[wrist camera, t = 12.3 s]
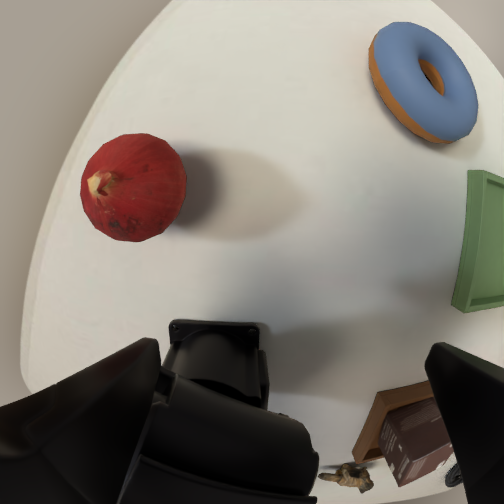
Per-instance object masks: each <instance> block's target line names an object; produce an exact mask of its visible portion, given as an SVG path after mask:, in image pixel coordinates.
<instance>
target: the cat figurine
mask: <svg viewBox="0 0 504 504" xmlns="http://www.w3.org/2000/svg"><path fill="white" fill-rule="evenodd" d="M366 468H367V467H363V468H361V467H351V466H348V464H344V465H343V466H342V468H341V470H337V471H336V473H335V474H330V473H321V474H319V475H318V477H319V478H320V479H322V480H327V481H333V482H337V483H338V484H339V485H340V486H348V487H358V488H359V490H360V492H361V493H364V492H365V491H368V490H370V489H372V488H373V486H374V483H373V481H372V480H370V475H369V473H368V471H367V470H366ZM341 471H342V472H341Z"/></svg>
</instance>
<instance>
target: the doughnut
mask: <svg viewBox="0 0 504 504" xmlns="http://www.w3.org/2000/svg"><path fill="white" fill-rule="evenodd" d="M369 69H370V72H371V75H372V78H373V82H374V85H375V87H376V89H377V90H378V92H379V94H380V96H381V97H382V99H383V101H384V103H385V104H386V106H387V107H388V108H389V109H390V110H391V112H392V113H393V114H394V115H395V117H396V118H397V119H398V120H399V121H400V122H401V123H402V124H403V125H405V126H406V127H407V128H408V129H409V130H410V131H412V132H413V133H414V134H416V135H418V136H420V137H422V138H424V139H426V140H428V141H431V142H435V143H445V144H447V143H452V142H454V141H457V140H459V139H461V138H463V137H465V136H467V135H469V133H470V132H471V130H472V129H473V127H474V125H475V123H476V121H477V113H478V100H477V94H476V90H475V87H474V84H473V82H472V79H471V76H470V74H469V73H468V71H467V69H466V67H465V65H464V64H463V62H462V61H461V59H460V58H459V57H458V55H457V54H456V53H455V52H454V50H453V49H452V48H451V47H450V46H449V45H448V44H447V43H446V42H445V41H444V40H443V39H442V38H441V37H439V36H438V35H436V34H435V33H433V32H432V31H430V30H429V29H427V28H425V27H422V26H419V25H417V24H414V23H411V22H393V23H391V24H389V25H388V26H386V27H384V28H382V29H381V30H379V32H378V33H377V34H376V35H375V37H374V39H373V41H372V43H371V45H370V47H369ZM422 71H423V72H424V73H425V74H426V75H427V77H428V78H429V79H430V81H431V83H432V85H433V86H434V88H433V86H432V85H431V84H430V83H429V81H428V80H427V79H426V77H425V75H424V73H423V72H422Z"/></svg>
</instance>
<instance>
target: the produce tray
mask: <svg viewBox="0 0 504 504" xmlns="http://www.w3.org/2000/svg"><path fill="white" fill-rule="evenodd" d="M451 305H452V306H454V307H455V308H457V309H458V310H460V311H461V312H463V313H469V312H475V311H480V310H486V309H491V308H496V307H501V306H504V178H502V177H500V176H497V175H495V174H492V173H490V172H487V171H484V170H468V191H467V210H466V222H465V232H464V240H463V247H462V254H461V260H460V266H459V271H458V276H457V281H456V286H455V290H454V295H453V299H452V303H451Z"/></svg>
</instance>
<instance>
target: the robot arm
mask: <svg viewBox="0 0 504 504" xmlns="http://www.w3.org/2000/svg"><path fill="white" fill-rule="evenodd" d="M174 325H176V326H177V327H178V328H179V329H175V328H174V327H173V326H174ZM250 329H255V330H256V331H255V332H250V331H249V330H250ZM259 334H260V331H259V327H258V325H256V324H254V323H223V322H202V321H185V320H173V321H171V323H170V325H169V336H170V345H171V346H170V349H169V351H168V353H167V355H166V358H165V360H164V362H163V364H162V366H161V358H160V351H159V344H158V341H157V340H156V339H152V338H146V337H144V338H142V339H140V340H138V341H136V342H134V343H133V344H131V345H129V346H127V347H125V348H123V349H121V350H119V351H118V352H116V353H114V354H112V355H110V356H108V357H106V358H104V359H102V360H100V361H99V362H97V363H95V364H93V365H91V366H89V367H87V368H85V369H83V370H81V371H79V372H77V373H75V374H73V375H71V376H70V377H68V378H66V379H64V380H62V381H60V382H58V383H57V384H54V385H52V386H50V387H48V388H46V389H43V390H41V391H39V392H37V393H35V394H33V395H30V396H28V397H25V398H23V399H20V400H18V401H15V402H13V403H10V404H7V405H4V406H1V407H0V504H316V503H317V497H316V496H309V494H310V492H311V490H312V488H313V486H314V482H315V479H316V476H317V473H318V467H319V455H318V453H317V452H315V451H314V449H313V448H312V444H311V439H310V434H309V433H308V431H307V430H306V428H305V426H304V425H303V424H302V423H301V422H299V421H297V420H295V419H292V418H290V417H289V416H288V415H285V414H282V413H279V414H277V413H274V412H270V411H267V406H268V396H269V377H268V369H267V361H266V353H265V352H264V351H263V350H259ZM425 371H426V373H427V376H428V379H429V383H430V386H431V389H432V392H433V395H434V399H435V402H436V404H437V407H438V409H439V412H440V414H441V417H442V420H443V422H444V425H445V428H446V430H447V433H448V436H449V439H450V441H451V444H452V447H453V450H454V453H455V457H456V460H457V463H458V466H459V470H460V473H461V477H462V480H463V484H464V488H465V491H466V492H465V493H466V497H467V501H468V504H504V368H502V367H500V366H497V365H495V364H493V363H490V362H488V361H486V360H484V359H481V358H479V357H477V356H474V355H472V354H470V353H468V352H465V351H463V350H461V349H458V348H456V347H454V346H452V345H449V344H447V343H445V342H439V343H435V344H433V346H432V347H431V350H430V352H429V354H428V357H427V359H426V361H425Z"/></svg>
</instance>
